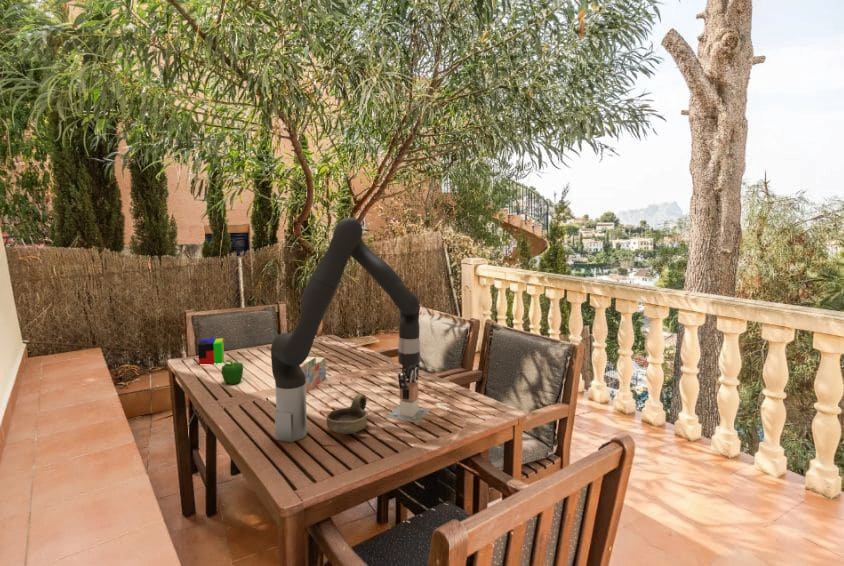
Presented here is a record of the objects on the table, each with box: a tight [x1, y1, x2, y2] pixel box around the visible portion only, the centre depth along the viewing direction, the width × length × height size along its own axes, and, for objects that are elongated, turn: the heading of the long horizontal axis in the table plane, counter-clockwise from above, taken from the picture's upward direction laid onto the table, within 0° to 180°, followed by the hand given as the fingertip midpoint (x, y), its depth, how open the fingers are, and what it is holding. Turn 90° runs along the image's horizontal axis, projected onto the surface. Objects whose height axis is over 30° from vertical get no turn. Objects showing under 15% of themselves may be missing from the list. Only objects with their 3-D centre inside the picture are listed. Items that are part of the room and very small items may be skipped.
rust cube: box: [399, 382, 419, 402], centre depth 165 cm, size 5×5×5 cm
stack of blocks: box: [300, 356, 327, 393], centre depth 194 cm, size 21×6×12 cm, turn 166°
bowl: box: [325, 393, 369, 435], centre depth 154 cm, size 14×18×10 cm
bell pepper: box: [221, 359, 244, 385], centre depth 197 cm, size 8×8×10 cm
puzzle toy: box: [197, 337, 225, 365], centre depth 226 cm, size 10×10×10 cm
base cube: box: [399, 397, 419, 417], centre depth 165 cm, size 5×5×5 cm
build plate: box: [386, 404, 431, 424], centre depth 166 cm, size 12×12×2 cm
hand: (408, 396), depth 165 cm, fingers closed on rust cube, 5 cm apart
